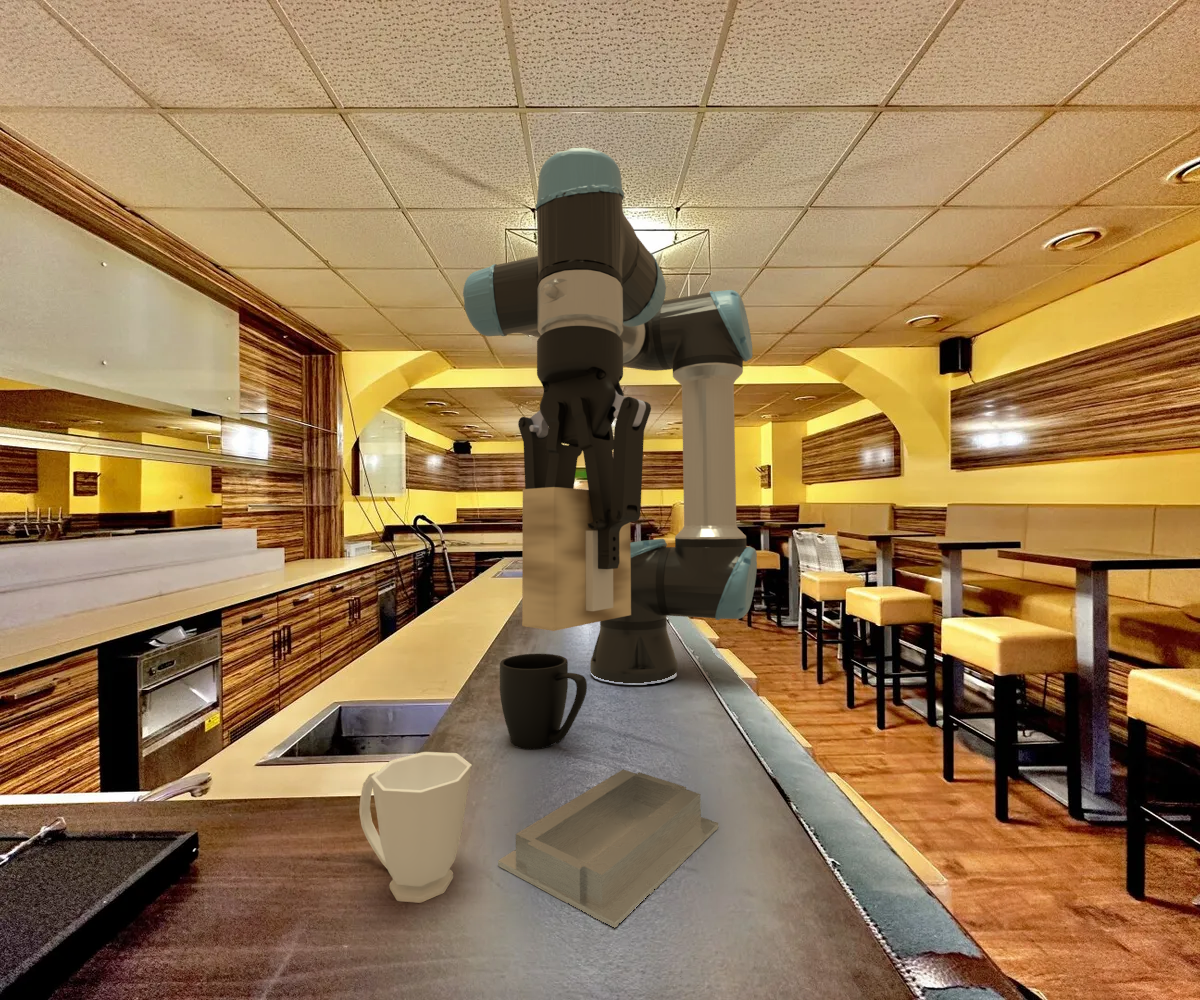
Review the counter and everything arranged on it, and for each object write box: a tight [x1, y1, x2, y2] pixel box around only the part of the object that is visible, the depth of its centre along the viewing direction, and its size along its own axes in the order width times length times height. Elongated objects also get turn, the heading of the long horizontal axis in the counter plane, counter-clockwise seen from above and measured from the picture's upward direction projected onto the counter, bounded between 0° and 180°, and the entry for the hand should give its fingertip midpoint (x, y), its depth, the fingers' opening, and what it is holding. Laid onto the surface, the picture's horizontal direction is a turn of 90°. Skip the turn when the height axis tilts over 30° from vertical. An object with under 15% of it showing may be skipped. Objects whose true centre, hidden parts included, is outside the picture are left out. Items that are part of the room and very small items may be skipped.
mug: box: [499, 653, 588, 750], centre depth 66 cm, size 8×12×10 cm
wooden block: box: [521, 487, 631, 632], centre depth 48 cm, size 10×4×11 cm, turn 141°
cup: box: [358, 751, 473, 904], centre depth 41 cm, size 7×10×8 cm
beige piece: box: [497, 769, 719, 929], centre depth 45 cm, size 15×11×3 cm
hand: (580, 606), depth 47 cm, fingers closed on wooden block, 3 cm apart
